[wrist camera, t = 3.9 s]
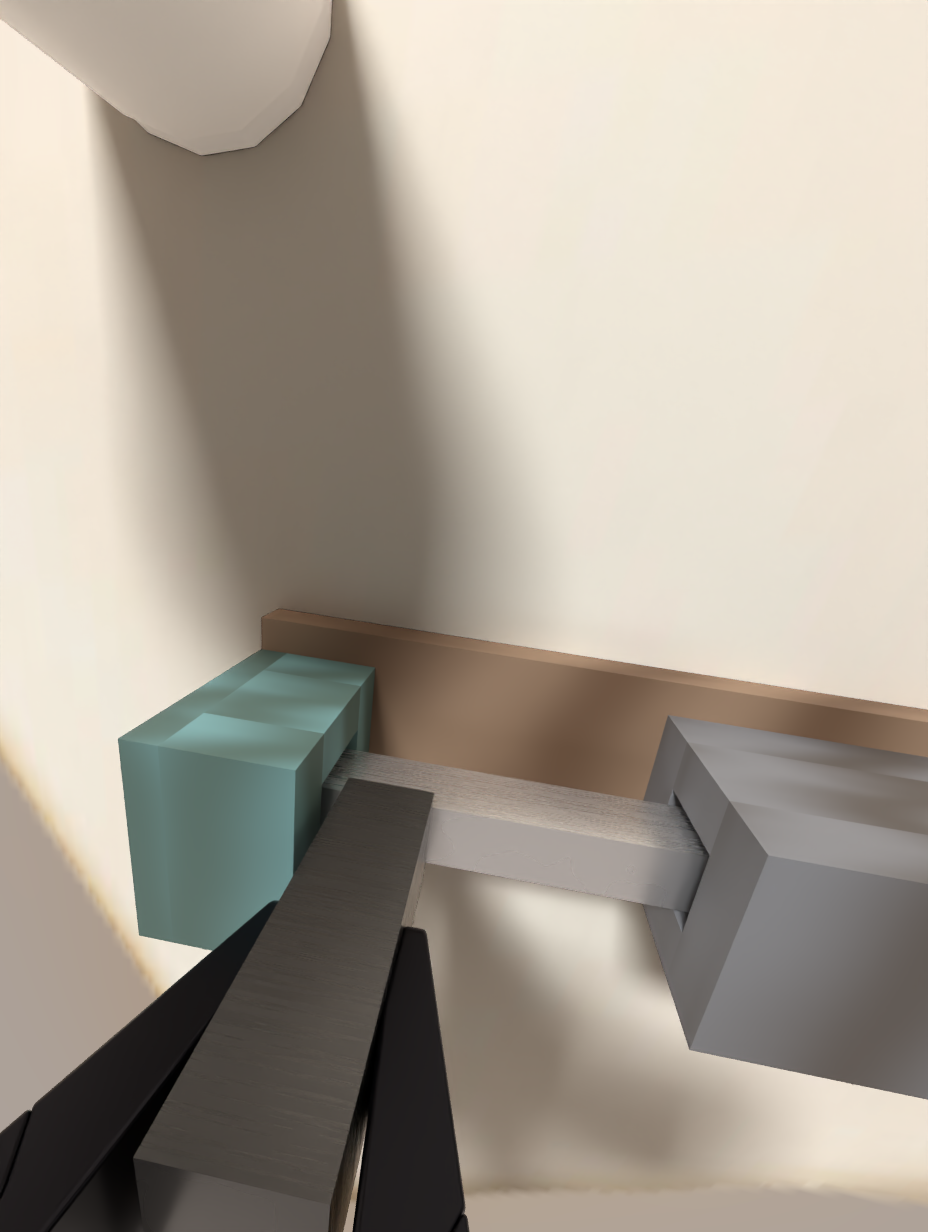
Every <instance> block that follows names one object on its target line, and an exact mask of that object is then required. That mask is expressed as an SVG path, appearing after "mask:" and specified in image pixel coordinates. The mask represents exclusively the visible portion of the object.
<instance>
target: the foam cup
mask: <svg viewBox="0 0 928 1232" xmlns="http://www.w3.org/2000/svg"><path fill="white" fill-rule="evenodd" d="M331 13H332V0H0V19H1V20H3V21H4V22H5V23H6V24H8V25H9V26H10V27H12V28H13V29H14V30H15V31H17V32H18V33H19V34H21V35H22V36H23V37H24V38H26V39H27V40H28V41H30V42H31V43H32V44H33V45H35V46H36V47H37V48H39V49H40V50H41V51H42V52H44V53H45V54H46V55H48V56H49V57H50V58H51V59H53V60H54V61H55V62H57V63H58V64H59V65H60V66H62V67H63V68H64V69H66V70H67V71H68V72H69V73H71V74H72V75H73V76H75V77H76V78H77V79H78V80H80V81H81V82H82V83H84V84H85V85H86V86H87V87H89V88H90V89H91V90H93V91H94V92H95V93H96V94H98V95H99V96H100V97H102V98H103V99H104V100H105V101H107V102H108V103H109V104H111V105H112V106H113V107H114V108H116V109H117V110H118V111H120V112H121V113H122V114H124V115H125V116H128V117H130V118H132V119H135V120H136V121H137V122H138V123H139V124H140V125H141V126H142V127H143V128H144V129H145V130H146V131H147V132H148V133H150V134H152V135H155V136H157V137H159V138H162V139H164V140H166V141H169V142H171V143H173V144H176V145H178V146H180V147H183V148H185V149H187V150H190V151H192V152H194V153H196V154H199V155H207V154H214V153H220V152H226V151H232V150H238V149H244V148H250V147H255V146H256V145H257V144H259V143H260V142H261V141H262V140H263V139H264V138H265V137H266V136H268V135H269V134H270V133H271V132H272V131H273V130H274V129H275V128H277V127H278V126H279V125H280V124H281V123H282V122H283V121H284V120H286V119H287V118H288V117H289V116H290V115H291V114H292V113H293V112H295V111H296V110H297V109H298V108H299V107H300V106H301V105H302V102H303V100H304V97H305V95H306V93H307V90H308V88H309V86H310V83H311V81H312V79H313V76H314V74H315V72H316V69H317V67H318V65H319V62H320V60H321V58H322V55H323V53H324V51H325V48H326V46H327V44H328V41H329V39H330V30H331Z"/></svg>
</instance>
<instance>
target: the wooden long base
mask: <svg viewBox="0 0 928 1232" xmlns="http://www.w3.org/2000/svg"><path fill="white" fill-rule="evenodd" d="M261 633H262V649H261V650H259V651H258V652H256V653H254V654H253V655H251V656H250V657H248V658H246V659H245V660H243V661H242V662H240V663H238V664H237V665H235V666H234V667H232V668H230V669H229V670H227V671H226V672H224V673H222V674H221V675H219V676H218V677H216V678H214V679H213V680H211V681H210V682H208V683H206V684H205V685H203V686H202V687H200V688H198V689H197V690H195V691H194V692H192V693H190V694H189V695H187V696H186V697H184V698H182V699H181V700H179V701H178V702H176V703H174V704H173V705H171V706H170V707H168V708H166V709H165V710H163V711H162V712H160V713H158V714H157V715H155V716H154V717H152V718H150V719H149V720H147V721H146V722H144V723H142V724H141V725H139V726H138V727H136V728H134V729H133V730H131V731H130V732H128V733H126V734H125V735H123V736H122V737H120V738H118V744H119V753H120V762H121V771H122V781H123V790H124V799H125V809H126V818H127V827H128V836H129V846H130V855H131V864H132V874H133V883H134V892H135V901H136V911H137V920H138V929H139V935H140V936H145V937H150V938H155V939H159V940H164V941H169V942H174V943H179V944H183V945H188V946H193V947H198V948H203V949H207V950H212V951H213V950H214V949H215V948H217V947H218V946H219V945H220V944H221V943H222V942H224V941H225V940H226V939H227V938H228V937H229V936H231V935H232V934H233V933H234V932H235V931H236V930H238V929H239V928H240V927H241V926H242V925H243V924H245V923H246V922H247V921H248V920H249V919H250V918H252V917H253V916H254V915H255V914H256V913H257V912H259V911H260V910H261V909H262V908H263V907H264V906H266V905H267V904H268V903H269V902H271V901H273V900H280V898H281V896H282V894H283V893H284V891H285V889H286V887H287V886H288V884H289V882H290V880H291V879H292V877H293V875H294V873H295V872H296V870H297V868H298V866H299V865H300V863H301V861H302V859H303V857H304V856H305V854H306V852H307V850H308V849H309V847H310V845H311V843H312V842H313V840H314V838H315V836H316V835H317V833H318V831H319V829H320V815H321V792H322V784H323V782H324V781H325V779H326V778H327V776H328V775H329V773H330V771H331V770H332V768H333V767H334V765H335V764H336V762H337V761H338V759H339V758H340V756H341V754H342V753H343V751H344V750H345V749H350V750H356V751H361V752H367V753H373V754H379V755H384V756H390V757H396V758H401V759H407V760H413V761H419V762H424V763H430V764H436V765H442V766H447V767H453V768H459V769H464V770H470V771H476V772H482V773H487V774H493V775H499V776H504V777H510V778H516V779H522V780H527V781H533V782H539V783H545V784H550V785H556V786H562V787H567V788H573V789H579V790H585V791H590V792H596V793H602V794H607V795H613V796H619V797H625V798H630V799H636V800H642V801H647V802H653V803H659V804H665V805H670V806H676V807H682V808H684V810H685V812H686V814H687V815H688V817H689V819H690V821H691V823H692V824H693V826H694V828H695V830H696V832H697V833H698V835H699V837H700V839H701V841H702V843H703V844H704V846H705V848H706V850H707V852H708V853H709V855H710V856H709V859H708V862H707V865H706V868H705V870H704V873H703V876H702V879H701V882H700V884H699V887H698V890H697V893H696V895H695V898H694V901H693V904H692V907H691V909H690V912H684V911H679V910H674V909H668V908H663V907H658V906H652V905H647V904H643V907H644V910H645V913H646V917H647V920H648V923H649V926H650V929H651V932H652V935H653V938H654V941H655V944H656V948H657V951H658V954H659V957H660V960H661V963H662V966H663V969H664V972H665V975H666V978H667V982H668V985H669V988H670V991H671V994H672V997H673V1000H674V1003H675V1006H676V1009H677V1013H678V1016H679V1019H680V1022H681V1025H682V1028H683V1031H684V1034H685V1037H686V1040H687V1043H688V1047H689V1050H692V1051H697V1052H702V1053H707V1054H712V1055H716V1056H721V1057H726V1058H731V1059H736V1060H740V1061H745V1062H750V1063H755V1064H760V1065H764V1066H769V1067H774V1068H779V1069H784V1070H788V1071H793V1072H798V1073H803V1074H808V1075H812V1076H817V1077H822V1078H827V1079H832V1080H836V1081H841V1082H846V1083H851V1084H856V1085H860V1086H865V1087H870V1088H875V1089H880V1090H884V1091H889V1092H894V1093H899V1094H904V1095H908V1096H913V1097H918V1098H923V1099H928V710H925V709H918V708H912V707H906V706H899V705H893V704H886V703H880V702H874V701H867V700H861V699H854V698H848V697H841V696H835V695H829V694H822V693H816V692H809V691H803V690H797V689H790V688H784V687H777V686H771V685H765V684H758V683H752V682H745V681H739V680H732V679H726V678H720V677H713V676H707V675H700V674H694V673H688V672H681V671H675V670H668V669H662V668H655V667H649V666H643V665H636V664H630V663H623V662H617V661H611V660H604V659H598V658H591V657H585V656H579V655H572V654H566V653H559V652H553V651H546V650H540V649H534V648H527V647H521V646H514V645H508V644H502V643H495V642H489V641H482V640H476V639H470V638H463V637H457V636H450V635H444V634H437V633H431V632H425V631H418V630H412V629H405V628H399V627H393V626H386V625H380V624H373V623H367V622H360V621H354V620H348V619H341V618H335V617H328V616H322V615H316V614H309V613H303V612H296V611H290V610H284V609H277V610H275V611H273V612H271V613H269V614H267V615H265V616H263V617H261Z"/></svg>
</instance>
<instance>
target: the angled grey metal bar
mask: <svg viewBox="0 0 928 1232" xmlns="http://www.w3.org/2000/svg"><path fill="white" fill-rule="evenodd" d="M709 856H710V855H709V853H708V852H707V850H706V848H705V846H704V844H703V843H702V841H701V839H700V837H699V835H698V833H697V832H696V830H695V828H694V826H693V824H692V823H691V821H690V819H689V817H688V815H687V814H686V812H685V810H684V808H682V807H676V806H670V805H665V804H659V803H653V802H647V801H642V800H636V799H630V798H625V797H619V796H613V795H607V794H602V793H596V792H590V791H585V790H579V789H573V788H567V787H562V786H556V785H550V784H545V783H539V782H533V781H527V780H522V779H516V778H510V777H504V776H499V775H493V774H487V773H482V772H476V771H470V770H464V769H459V768H453V767H447V766H442V765H436V764H430V763H424V762H419V761H413V760H407V759H401V758H396V757H390V756H384V755H379V754H373V753H367V752H361V751H356V750H350V749H345V750H344V751H343V753H342V754H341V756H340V758H339V759H338V761H337V762H336V764H335V765H334V767H333V768H332V770H331V771H330V773H329V775H328V776H327V778H326V779H325V781H324V782H323V784H322V792H321V815H320V829H319V831H318V833H317V835H316V836H315V838H314V840H313V842H312V843H311V845H310V847H309V849H308V850H307V852H306V854H305V856H304V857H303V859H302V861H301V863H300V865H299V866H298V868H297V870H296V872H295V873H294V875H293V877H292V879H291V880H290V882H289V884H288V886H287V887H286V889H285V891H284V893H283V894H282V896H281V898H280V900H279V902H278V903H277V905H276V907H275V909H274V910H273V912H272V914H271V916H270V917H269V919H268V921H267V923H266V924H265V926H264V928H263V930H262V931H261V933H260V935H259V937H258V939H257V940H256V942H255V944H254V946H253V947H252V949H251V951H250V953H249V954H248V956H247V958H246V960H245V961H244V963H243V965H242V967H241V968H240V970H239V972H238V974H237V975H236V977H235V979H234V981H233V983H232V984H231V986H230V988H229V990H228V991H227V993H226V995H225V997H224V998H223V1000H222V1002H221V1004H220V1005H219V1007H218V1009H217V1011H216V1012H215V1014H214V1016H213V1018H212V1020H211V1021H210V1023H209V1025H208V1027H207V1028H206V1030H205V1032H204V1034H203V1035H202V1037H201V1039H200V1041H199V1042H198V1044H197V1046H196V1048H195V1049H194V1051H193V1053H192V1055H191V1057H190V1058H189V1060H188V1062H187V1064H186V1065H185V1067H184V1069H183V1071H182V1072H181V1074H180V1076H179V1078H178V1079H177V1081H176V1083H175V1085H174V1086H173V1088H172V1090H171V1092H170V1094H169V1095H168V1097H167V1099H166V1101H165V1102H164V1104H163V1106H162V1108H161V1109H160V1111H159V1113H158V1115H157V1116H156V1118H155V1120H154V1122H153V1123H152V1125H151V1127H150V1129H149V1131H148V1132H147V1134H146V1136H145V1138H144V1139H143V1141H142V1143H141V1145H140V1146H139V1148H138V1150H137V1152H136V1153H135V1155H134V1157H133V1160H134V1167H135V1174H136V1181H137V1188H138V1196H139V1203H140V1210H141V1217H142V1224H143V1232H343V1230H344V1225H345V1221H346V1217H347V1212H348V1208H349V1203H350V1199H351V1194H352V1190H353V1186H354V1181H355V1177H356V1172H357V1168H358V1163H359V1159H360V1155H361V1150H362V1146H363V1141H364V1137H365V1132H366V1125H367V1117H368V1109H369V1102H370V1094H371V1087H372V1079H373V1071H374V1064H375V1056H376V1049H377V1041H378V1033H379V1026H380V1019H381V1014H382V1010H383V1006H384V1002H385V998H386V995H387V991H388V987H389V983H390V979H391V976H392V972H393V968H394V964H395V961H396V957H397V953H398V949H399V945H400V942H401V938H402V934H403V931H404V928H405V927H407V926H409V927H412V925H413V920H414V916H415V911H416V907H417V903H418V898H419V894H420V889H421V885H422V880H423V876H424V869H425V863H430V864H436V865H441V866H446V867H452V868H457V869H462V870H467V871H473V872H478V873H483V874H489V875H494V876H499V877H504V878H510V879H515V880H520V881H526V882H531V883H536V884H541V885H547V886H552V887H557V888H563V889H568V890H573V891H578V892H584V893H589V894H594V895H600V896H605V897H610V898H615V899H621V900H626V901H631V902H637V903H642V904H647V905H652V906H658V907H663V908H668V909H674V910H679V911H684V912H690V909H691V907H692V904H693V901H694V898H695V895H696V893H697V890H698V887H699V884H700V882H701V879H702V876H703V873H704V870H705V868H706V865H707V862H708V859H709Z"/></svg>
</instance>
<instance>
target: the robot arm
mask: <svg viewBox="0 0 928 1232" xmlns="http://www.w3.org/2000/svg"><path fill="white" fill-rule="evenodd" d="M278 902H279V900H273V901H271V902H269V903H268V904H267V905H266V906H264V907H263V908H262V909H261V910H260V911H259V912H257V913H256V914H255V915H254V916H253V917H252V918H250V919H249V920H248V921H247V922H246V923H245V924H243V925H242V926H241V927H240V928H239V929H238V930H236V931H235V932H234V933H233V934H232V935H231V936H229V937H228V938H227V939H226V940H225V941H224V942H222V943H221V944H220V945H219V946H218V947H217V948H215V949H214V950H213V951H212V952H211V953H210V954H208V955H207V956H206V957H205V958H204V959H203V960H201V961H200V962H199V963H198V964H197V965H196V966H194V967H193V968H192V969H191V970H190V971H189V972H187V973H186V974H185V975H184V976H183V977H182V978H181V979H179V980H178V981H177V982H176V983H175V984H174V985H172V986H171V987H170V988H169V989H168V990H167V991H165V992H164V993H163V994H162V995H161V996H160V997H158V998H157V999H156V1000H155V1001H154V1002H153V1003H151V1004H150V1005H149V1006H148V1007H147V1008H146V1009H144V1010H143V1011H142V1012H141V1013H140V1014H139V1015H137V1016H136V1017H135V1018H134V1019H133V1020H132V1021H130V1022H129V1023H128V1024H127V1025H126V1026H125V1027H123V1028H122V1029H121V1030H120V1031H119V1032H118V1033H117V1034H115V1035H114V1036H113V1037H112V1038H111V1039H109V1040H108V1041H107V1042H106V1043H105V1044H104V1045H102V1046H101V1047H100V1048H99V1049H98V1050H97V1051H95V1052H94V1053H93V1054H92V1055H91V1056H90V1057H88V1058H87V1059H86V1060H85V1061H84V1062H83V1063H82V1064H80V1065H79V1066H78V1067H77V1068H76V1069H75V1070H73V1071H72V1072H71V1073H70V1074H69V1075H68V1076H66V1077H65V1078H64V1079H63V1080H62V1081H61V1082H59V1083H58V1084H57V1085H56V1086H55V1087H54V1088H52V1089H51V1090H50V1091H49V1092H48V1093H47V1094H45V1095H44V1096H43V1097H42V1098H41V1099H40V1100H38V1101H37V1102H36V1103H35V1104H34V1106H33V1108H32V1111H31V1110H27V1111H25V1112H24V1113H23V1114H22V1115H21V1116H19V1117H18V1118H17V1119H16V1120H15V1121H14V1122H12V1123H11V1124H10V1125H9V1126H8V1127H7V1128H6V1129H4V1130H3V1131H2V1132H1V1133H0V1232H143V1224H142V1217H141V1210H140V1203H139V1196H138V1188H137V1181H136V1174H135V1167H134V1160H133V1157H134V1155H135V1153H136V1152H137V1150H138V1148H139V1146H140V1145H141V1143H142V1141H143V1139H144V1138H145V1136H146V1134H147V1132H148V1131H149V1129H150V1127H151V1125H152V1123H153V1122H154V1120H155V1118H156V1116H157V1115H158V1113H159V1111H160V1109H161V1108H162V1106H163V1104H164V1102H165V1101H166V1099H167V1097H168V1095H169V1094H170V1092H171V1090H172V1088H173V1086H174V1085H175V1083H176V1081H177V1079H178V1078H179V1076H180V1074H181V1072H182V1071H183V1069H184V1067H185V1065H186V1064H187V1062H188V1060H189V1058H190V1057H191V1055H192V1053H193V1051H194V1049H195V1048H196V1046H197V1044H198V1042H199V1041H200V1039H201V1037H202V1035H203V1034H204V1032H205V1030H206V1028H207V1027H208V1025H209V1023H210V1021H211V1020H212V1018H213V1016H214V1014H215V1012H216V1011H217V1009H218V1007H219V1005H220V1004H221V1002H222V1000H223V998H224V997H225V995H226V993H227V991H228V990H229V988H230V986H231V984H232V983H233V981H234V979H235V977H236V975H237V974H238V972H239V970H240V968H241V967H242V965H243V963H244V961H245V960H246V958H247V956H248V954H249V953H250V951H251V949H252V947H253V946H254V944H255V942H256V940H257V939H258V937H259V935H260V933H261V931H262V930H263V928H264V926H265V924H266V923H267V921H268V919H269V917H270V916H271V914H272V912H273V910H274V909H275V907H276V905H277V903H278ZM464 1212H465V1199H464V1192H463V1185H462V1178H461V1171H460V1164H459V1157H458V1150H457V1143H456V1136H455V1129H454V1122H453V1115H452V1108H451V1101H450V1094H449V1087H448V1080H447V1073H446V1066H445V1059H444V1052H443V1045H442V1038H441V1031H440V1024H439V1017H438V1010H437V1003H436V996H435V989H434V982H433V975H432V968H431V961H430V953H429V946H428V939H427V934H426V931H425V930H423V929H419V928H414V927H409V926H407V927H405V928H404V931H403V934H402V938H401V942H400V945H399V949H398V953H397V957H396V961H395V964H394V968H393V972H392V976H391V979H390V983H389V987H388V991H387V995H386V998H385V1002H384V1006H383V1010H382V1014H381V1019H380V1026H379V1033H378V1041H377V1049H376V1056H375V1064H374V1071H373V1079H372V1087H371V1094H370V1102H369V1109H368V1117H367V1125H366V1132H365V1140H364V1148H363V1155H362V1163H361V1170H360V1178H359V1186H358V1193H357V1201H356V1209H355V1217H354V1224H353V1232H469V1226H468V1219H467V1216H466V1215H465V1214H464Z"/></svg>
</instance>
